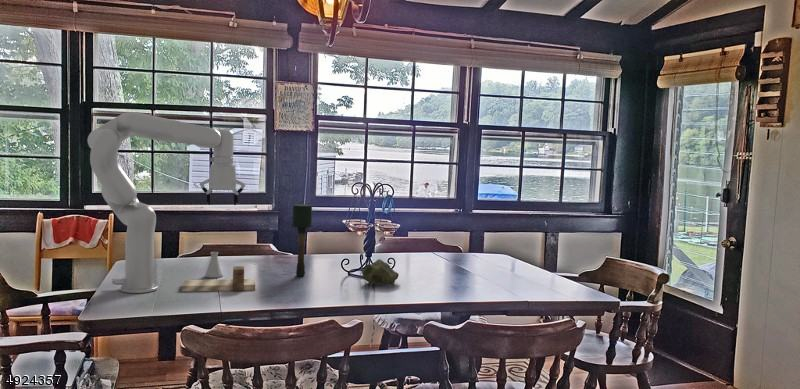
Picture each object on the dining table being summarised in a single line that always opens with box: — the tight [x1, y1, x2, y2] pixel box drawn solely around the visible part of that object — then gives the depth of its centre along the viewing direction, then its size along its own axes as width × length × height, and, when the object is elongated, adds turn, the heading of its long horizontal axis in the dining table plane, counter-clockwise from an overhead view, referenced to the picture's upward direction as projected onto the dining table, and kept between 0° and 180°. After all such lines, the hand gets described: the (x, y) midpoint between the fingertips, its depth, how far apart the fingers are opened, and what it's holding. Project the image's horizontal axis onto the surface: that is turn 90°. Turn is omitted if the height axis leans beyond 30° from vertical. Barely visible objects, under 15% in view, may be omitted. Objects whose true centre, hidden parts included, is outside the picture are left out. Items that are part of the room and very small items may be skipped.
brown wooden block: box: [232, 265, 245, 292], centre depth 230 cm, size 4×14×8 cm, turn 14°
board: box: [181, 278, 256, 292], centre depth 228 cm, size 26×10×2 cm, turn 104°
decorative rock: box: [361, 258, 399, 286], centre depth 244 cm, size 15×16×10 cm
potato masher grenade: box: [291, 203, 313, 277], centre depth 253 cm, size 8×9×30 cm
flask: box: [204, 251, 223, 279], centre depth 246 cm, size 7×7×10 cm
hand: (222, 204), depth 238 cm, fingers open, 9 cm apart
